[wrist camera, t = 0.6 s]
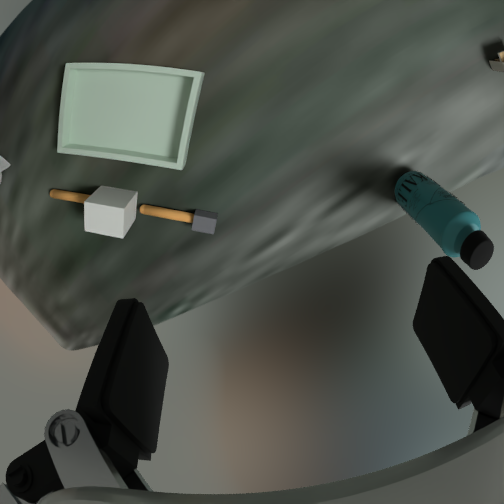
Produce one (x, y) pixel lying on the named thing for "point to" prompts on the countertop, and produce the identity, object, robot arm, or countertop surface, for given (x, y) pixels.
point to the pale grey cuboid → (110, 211)
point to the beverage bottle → (444, 219)
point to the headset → (3, 166)
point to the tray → (128, 112)
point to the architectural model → (498, 63)
